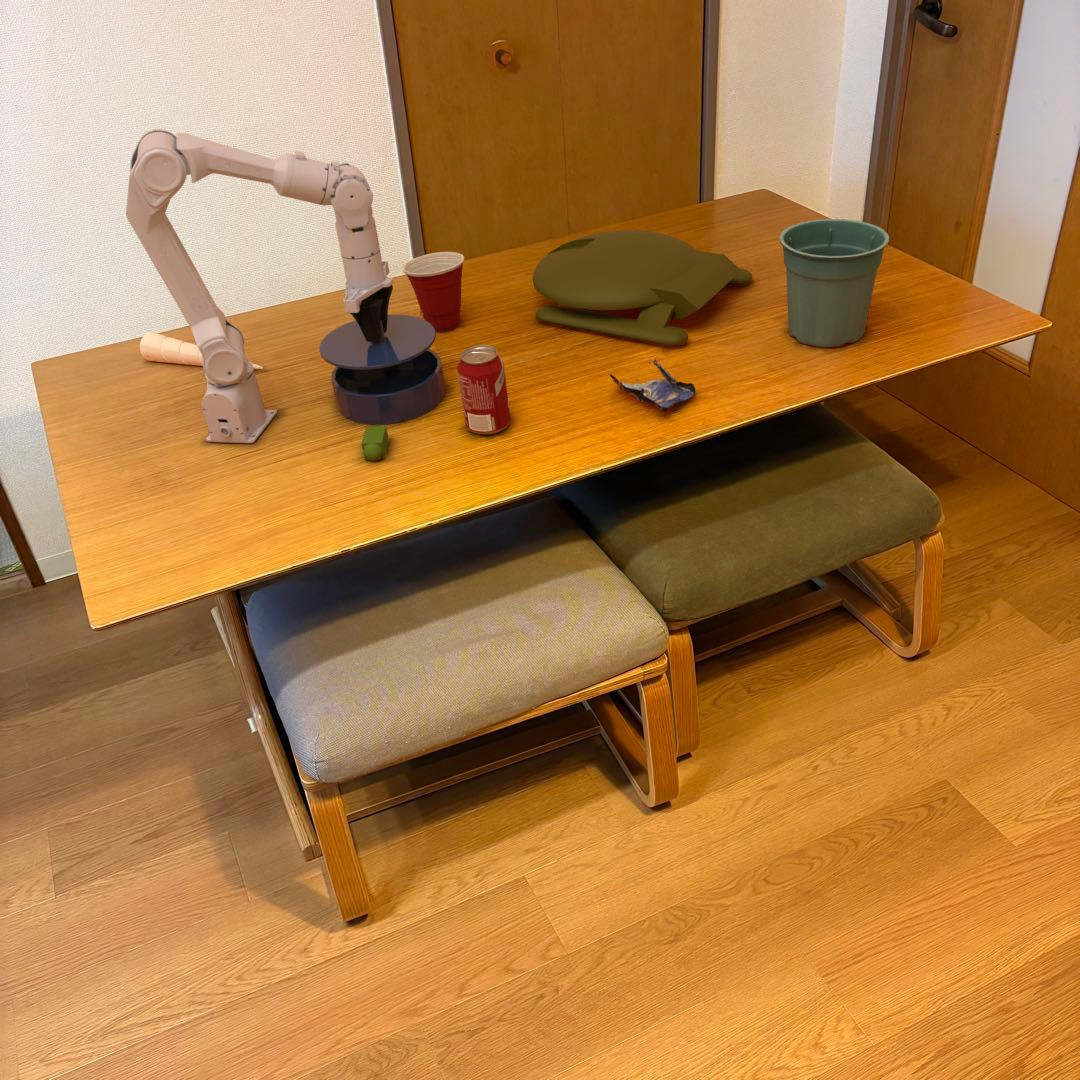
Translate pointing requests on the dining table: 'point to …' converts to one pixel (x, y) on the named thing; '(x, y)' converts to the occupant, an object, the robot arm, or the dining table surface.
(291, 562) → the dining table surface
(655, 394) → the snack package
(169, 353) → the unicorn horn
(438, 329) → the plastic cup
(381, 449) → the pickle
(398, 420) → the pan
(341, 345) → the pan lid
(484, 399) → the soda can
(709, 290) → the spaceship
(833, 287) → the flower pot
